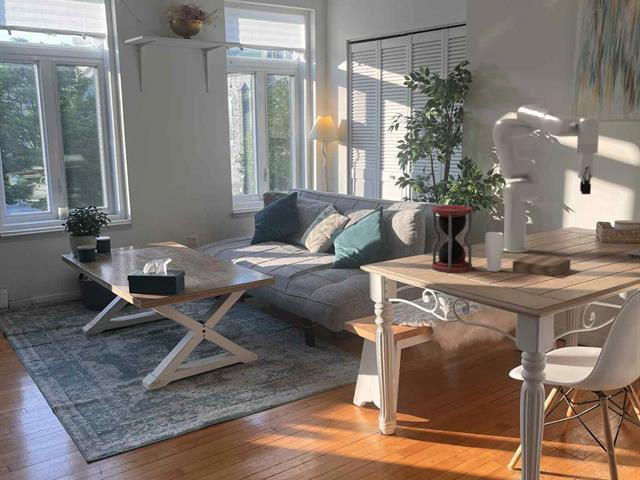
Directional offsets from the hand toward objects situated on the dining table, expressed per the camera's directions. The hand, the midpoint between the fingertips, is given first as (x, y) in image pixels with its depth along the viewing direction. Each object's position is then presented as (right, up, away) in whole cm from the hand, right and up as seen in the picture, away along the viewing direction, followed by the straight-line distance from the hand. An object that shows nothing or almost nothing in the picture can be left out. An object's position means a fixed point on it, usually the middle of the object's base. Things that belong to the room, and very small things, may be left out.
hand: (585, 192), depth 250 cm
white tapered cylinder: (-36, -31, 0) cm, 48 cm away
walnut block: (-18, -31, -1) cm, 36 cm away
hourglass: (-52, -31, +6) cm, 60 cm away
